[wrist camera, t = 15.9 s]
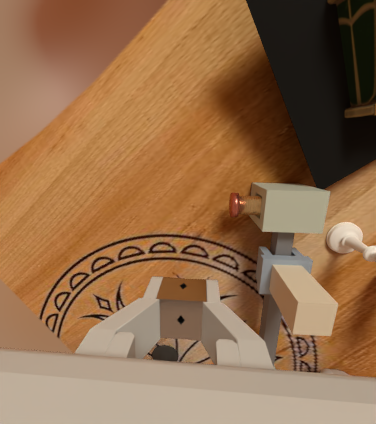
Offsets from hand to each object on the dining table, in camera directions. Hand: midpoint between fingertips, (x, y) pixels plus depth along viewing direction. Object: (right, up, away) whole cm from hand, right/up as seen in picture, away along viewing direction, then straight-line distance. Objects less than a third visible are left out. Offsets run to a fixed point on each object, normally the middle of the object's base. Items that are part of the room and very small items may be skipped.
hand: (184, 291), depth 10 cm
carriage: (+13, -4, +21) cm, 24 cm away
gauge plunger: (+11, +5, +19) cm, 23 cm away
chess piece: (+24, 0, +23) cm, 33 cm away
